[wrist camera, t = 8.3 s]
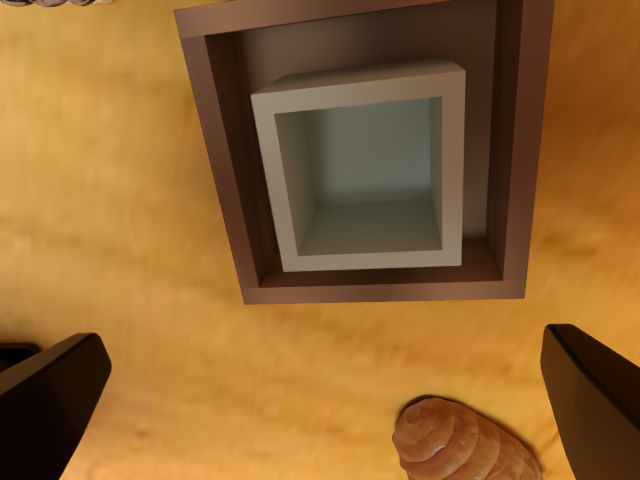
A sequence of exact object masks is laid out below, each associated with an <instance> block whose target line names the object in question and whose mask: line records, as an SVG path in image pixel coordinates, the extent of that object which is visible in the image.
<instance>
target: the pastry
mask: <svg viewBox="0 0 640 480" xmlns="http://www.w3.org/2000/svg"><path fill="white" fill-rule="evenodd" d="M392 440H393V443H394V445H395V447H396V449H397V451H398V454H399V458H400V465H401V467H402V468H403V469H404V470H406V471H407V475H408V478H409V480H543V477H542V475H541V472H540V468H539V465H538V463H537V461H536V460H535V459H534V457H533V456H532V455H531V454H530V453H529V451H528V450H527V449H526V448H525V447H524V446H523V445H522V444H521V443H520V442H519V440H517V439H516V438H515V437H513V436H512V435H510V434H508V433H507V432H506V431H505V430H504V429H501V428H499V427H498V426H497V425H496V424H494V423H493V422H491V421H489V420H487V419H486V418H484V417H482V416H480V415H479V414H477V413H476V412H474V411H472V410H470V409H469V408H467V407H465V406H463V405H461V404H459V403H457V402H456V403H455V402H450V401H446V400H443V399H441V398H437V397H434V398H430V399H424V400H422V401H421V402H419V403H417V404H415V405H412V406H410V407H408V408H407V409H406V410H405V411H404V412H403V413H402V415H401V417H400V419H399V421H398V423H397V425H396V428H395V431H394V433H393V436H392Z"/></svg>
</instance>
